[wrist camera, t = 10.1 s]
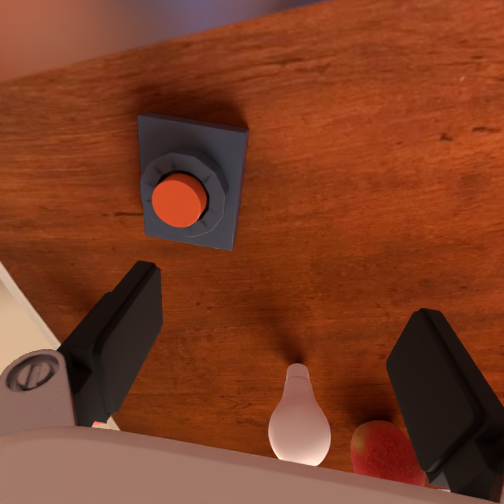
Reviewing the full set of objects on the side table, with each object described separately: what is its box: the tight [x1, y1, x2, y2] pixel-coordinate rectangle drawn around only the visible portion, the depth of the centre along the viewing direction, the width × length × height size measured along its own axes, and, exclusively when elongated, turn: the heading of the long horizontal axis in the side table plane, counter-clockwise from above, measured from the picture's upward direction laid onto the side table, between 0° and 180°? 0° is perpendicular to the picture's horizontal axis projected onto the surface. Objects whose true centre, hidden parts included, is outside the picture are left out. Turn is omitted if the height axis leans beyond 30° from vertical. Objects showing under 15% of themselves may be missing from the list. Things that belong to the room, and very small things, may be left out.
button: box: [152, 173, 207, 227], centre depth 21 cm, size 4×4×2 cm
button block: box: [137, 112, 249, 251], centre depth 23 cm, size 10×8×4 cm
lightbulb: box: [269, 363, 331, 466], centre depth 31 cm, size 6×6×11 cm
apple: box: [351, 420, 425, 487], centre depth 36 cm, size 8×8×10 cm
